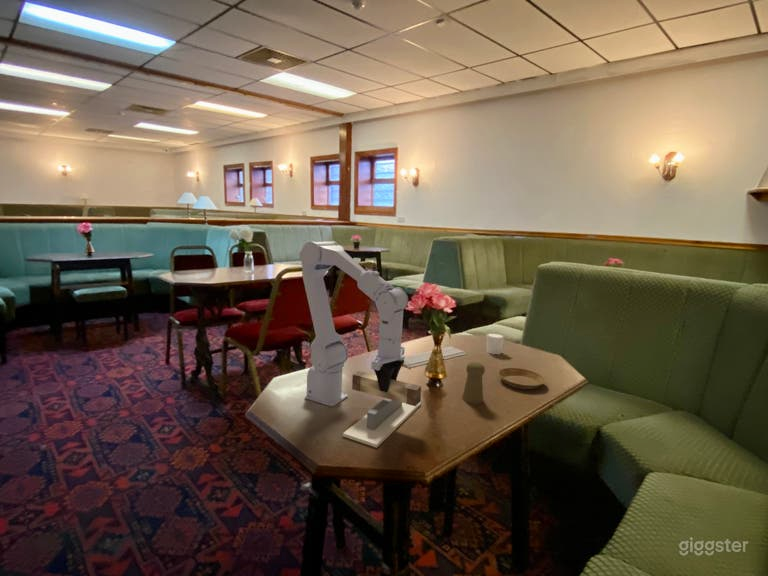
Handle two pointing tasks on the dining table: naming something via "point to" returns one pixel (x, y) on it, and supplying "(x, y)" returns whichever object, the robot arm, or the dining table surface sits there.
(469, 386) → the pepper mill
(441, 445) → the dining table surface
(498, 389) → the dining table surface
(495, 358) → the dining table surface
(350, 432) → the ridge stand
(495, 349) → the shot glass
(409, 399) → the shiny metallic bar
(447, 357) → the baseboard
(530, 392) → the dining table surface
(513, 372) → the plant saucer
